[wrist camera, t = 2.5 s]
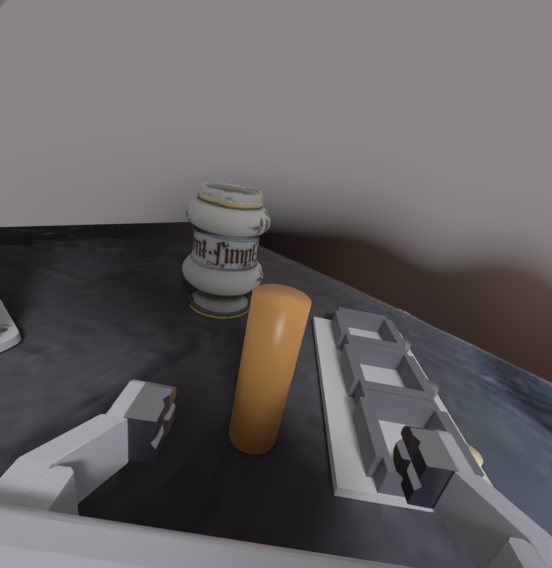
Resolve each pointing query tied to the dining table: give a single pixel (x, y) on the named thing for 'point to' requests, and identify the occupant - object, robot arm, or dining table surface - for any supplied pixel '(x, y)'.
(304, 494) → the dining table surface
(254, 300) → the orange rounded cylinder
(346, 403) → the board
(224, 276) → the apothecary jar
